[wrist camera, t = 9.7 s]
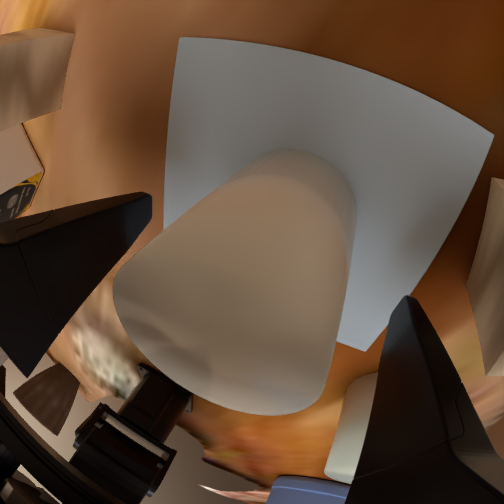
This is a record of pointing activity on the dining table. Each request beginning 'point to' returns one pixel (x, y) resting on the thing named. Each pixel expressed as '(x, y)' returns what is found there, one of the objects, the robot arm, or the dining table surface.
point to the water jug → (307, 491)
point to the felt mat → (328, 155)
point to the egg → (248, 286)
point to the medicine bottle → (17, 172)
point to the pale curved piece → (351, 429)
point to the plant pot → (49, 396)
